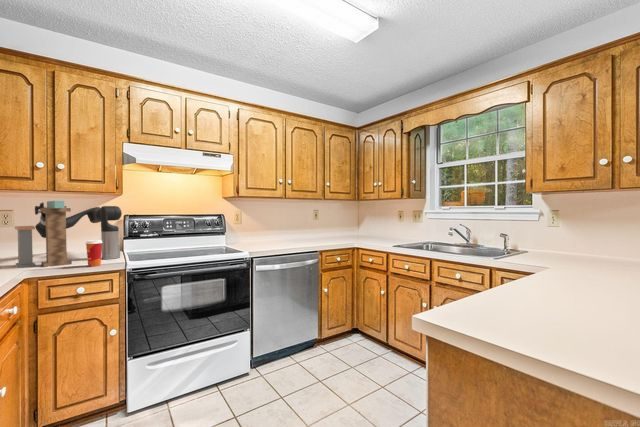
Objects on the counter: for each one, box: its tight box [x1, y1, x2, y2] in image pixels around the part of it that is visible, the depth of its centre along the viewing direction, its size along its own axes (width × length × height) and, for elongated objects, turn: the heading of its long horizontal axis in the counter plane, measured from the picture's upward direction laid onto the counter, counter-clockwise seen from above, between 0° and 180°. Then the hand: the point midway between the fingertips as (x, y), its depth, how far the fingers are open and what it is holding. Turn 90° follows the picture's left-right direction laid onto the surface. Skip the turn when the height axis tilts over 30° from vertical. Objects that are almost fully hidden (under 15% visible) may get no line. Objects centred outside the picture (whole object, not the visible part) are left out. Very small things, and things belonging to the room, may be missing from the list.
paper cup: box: [85, 239, 103, 268], centre depth 174 cm, size 8×8×14 cm
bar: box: [46, 200, 65, 208], centre depth 178 cm, size 4×24×4 cm, turn 49°
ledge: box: [14, 225, 37, 269], centre depth 175 cm, size 7×12×22 cm, turn 49°
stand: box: [39, 207, 72, 268], centre depth 178 cm, size 12×8×32 cm, turn 139°
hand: (52, 203), depth 183 cm, fingers open, 8 cm apart
